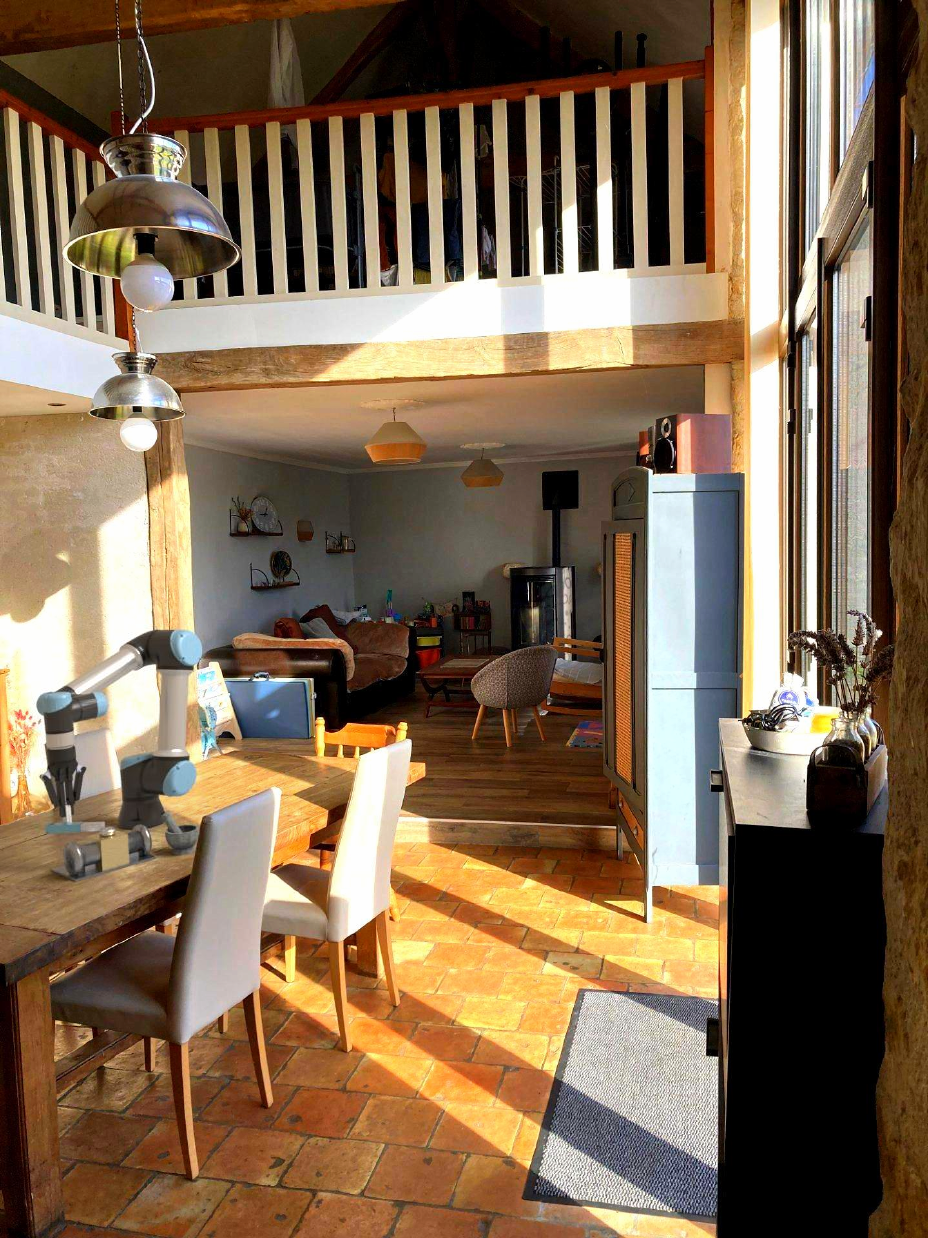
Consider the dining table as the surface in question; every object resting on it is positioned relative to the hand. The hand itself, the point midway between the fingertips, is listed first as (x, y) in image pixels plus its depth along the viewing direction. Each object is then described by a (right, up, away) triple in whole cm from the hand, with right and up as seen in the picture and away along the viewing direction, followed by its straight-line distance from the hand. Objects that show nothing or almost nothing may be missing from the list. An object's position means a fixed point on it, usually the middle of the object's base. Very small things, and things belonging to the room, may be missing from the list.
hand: (67, 827), depth 266 cm
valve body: (+10, -11, 0) cm, 15 cm away
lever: (+5, -2, -3) cm, 6 cm away
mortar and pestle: (+30, -10, +10) cm, 33 cm away
